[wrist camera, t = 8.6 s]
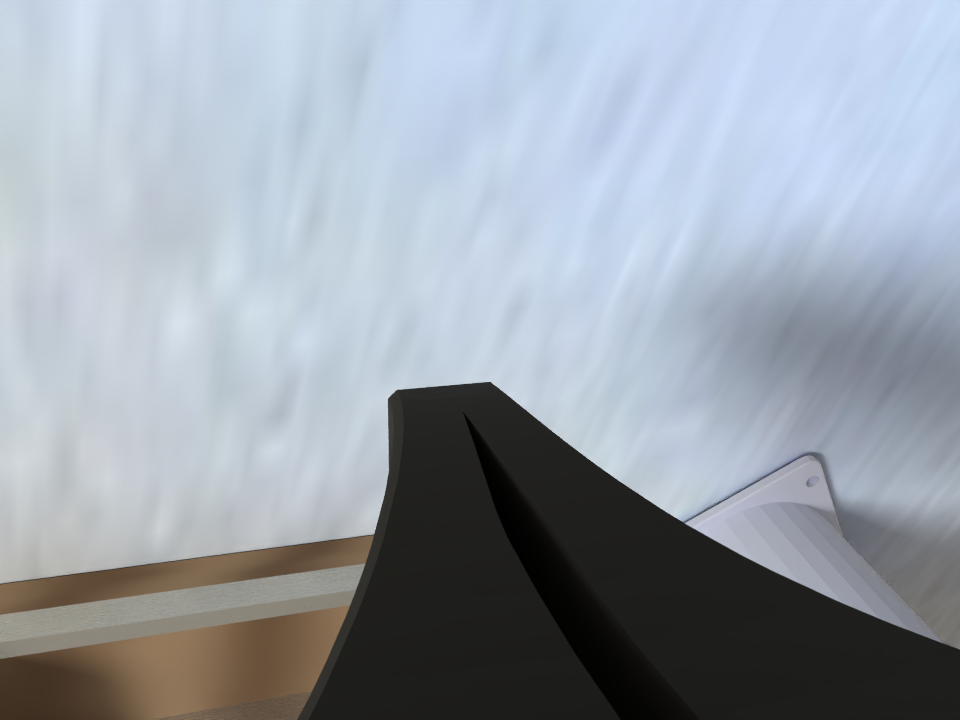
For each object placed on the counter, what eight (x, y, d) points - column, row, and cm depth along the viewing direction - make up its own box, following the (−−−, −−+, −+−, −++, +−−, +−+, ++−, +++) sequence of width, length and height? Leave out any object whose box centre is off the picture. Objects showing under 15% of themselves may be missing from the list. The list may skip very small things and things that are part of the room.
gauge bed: (410, 529, 24) (417, 556, 23) (410, 741, 29) (415, 770, 28) (-444, 643, 19) (-484, 683, 18) (-257, 874, 24) (-280, 915, 23)
